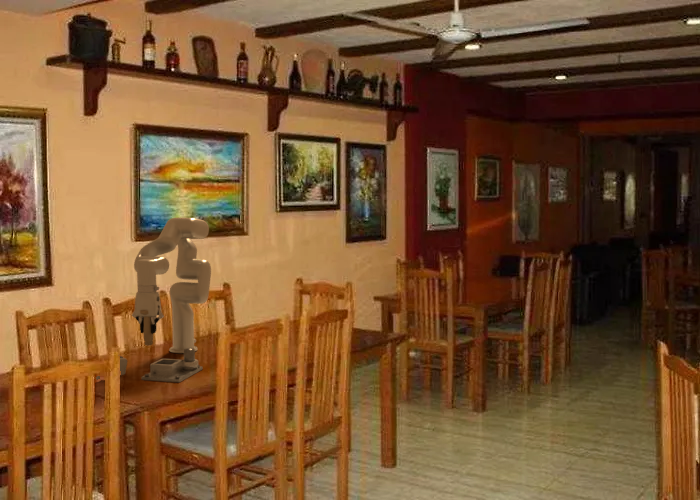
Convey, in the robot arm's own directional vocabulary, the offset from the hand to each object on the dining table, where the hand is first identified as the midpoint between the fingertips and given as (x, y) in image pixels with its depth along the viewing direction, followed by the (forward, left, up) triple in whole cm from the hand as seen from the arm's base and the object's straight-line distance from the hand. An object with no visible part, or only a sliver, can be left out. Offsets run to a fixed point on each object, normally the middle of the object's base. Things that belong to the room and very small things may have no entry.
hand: (148, 332), depth 326 cm
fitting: (+7, +14, -15) cm, 22 cm away
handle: (0, 0, -5) cm, 5 cm away
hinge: (+18, -8, -16) cm, 25 cm away
